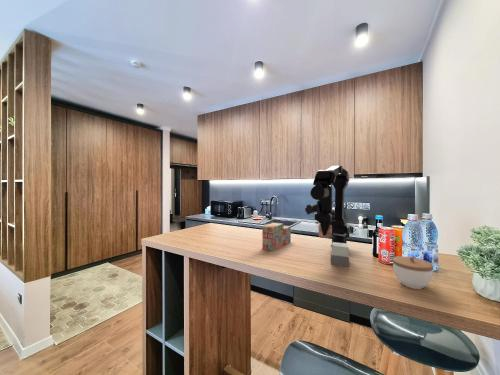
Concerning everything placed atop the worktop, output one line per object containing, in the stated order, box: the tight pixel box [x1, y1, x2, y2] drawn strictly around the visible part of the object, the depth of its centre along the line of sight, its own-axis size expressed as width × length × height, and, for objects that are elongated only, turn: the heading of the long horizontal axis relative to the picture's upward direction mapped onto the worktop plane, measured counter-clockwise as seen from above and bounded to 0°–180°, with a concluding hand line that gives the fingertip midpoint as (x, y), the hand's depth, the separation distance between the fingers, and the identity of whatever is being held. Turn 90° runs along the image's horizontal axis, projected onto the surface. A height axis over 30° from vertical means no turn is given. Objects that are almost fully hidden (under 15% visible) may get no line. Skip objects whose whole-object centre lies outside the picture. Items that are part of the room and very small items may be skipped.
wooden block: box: [318, 223, 333, 239], centre depth 92 cm, size 6×6×5 cm
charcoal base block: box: [330, 251, 350, 268], centre depth 90 cm, size 7×7×4 cm
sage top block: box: [331, 242, 349, 257], centre depth 90 cm, size 6×6×4 cm
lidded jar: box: [392, 255, 434, 290], centre depth 70 cm, size 11×11×9 cm
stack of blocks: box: [261, 222, 292, 252], centre depth 116 cm, size 21×6×12 cm, turn 144°
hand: (325, 233), depth 92 cm, fingers closed on wooden block, 5 cm apart
